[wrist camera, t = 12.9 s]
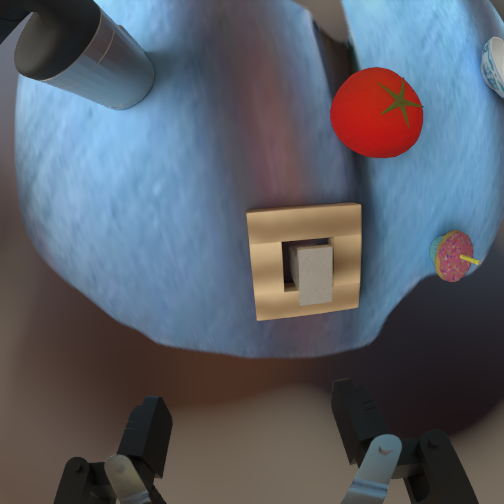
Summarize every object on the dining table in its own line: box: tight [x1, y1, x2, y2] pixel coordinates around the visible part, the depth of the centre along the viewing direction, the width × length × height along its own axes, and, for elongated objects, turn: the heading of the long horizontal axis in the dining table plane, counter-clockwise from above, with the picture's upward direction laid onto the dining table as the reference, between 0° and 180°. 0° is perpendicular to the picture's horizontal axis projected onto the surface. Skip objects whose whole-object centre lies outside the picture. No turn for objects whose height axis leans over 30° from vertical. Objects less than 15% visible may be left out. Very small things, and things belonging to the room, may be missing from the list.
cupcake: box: [430, 230, 481, 282], centre depth 33 cm, size 9×8×12 cm
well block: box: [246, 202, 361, 321], centre depth 37 cm, size 15×15×3 cm
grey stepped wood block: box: [289, 243, 332, 306], centre depth 35 cm, size 7×4×8 cm, turn 5°
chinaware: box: [480, 37, 504, 99], centre depth 25 cm, size 15×15×8 cm
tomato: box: [330, 67, 423, 158], centre depth 27 cm, size 11×11×13 cm
